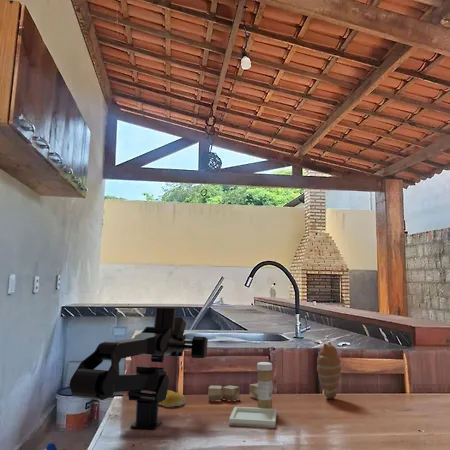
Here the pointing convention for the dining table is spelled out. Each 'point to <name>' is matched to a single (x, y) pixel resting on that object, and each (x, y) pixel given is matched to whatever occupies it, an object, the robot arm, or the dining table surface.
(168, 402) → the bread roll
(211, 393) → the oak cube
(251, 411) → the tray
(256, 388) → the oak cube
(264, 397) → the sprinkles bottle
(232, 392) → the oak cube
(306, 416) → the dining table surface
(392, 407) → the dining table surface
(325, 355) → the croissant
